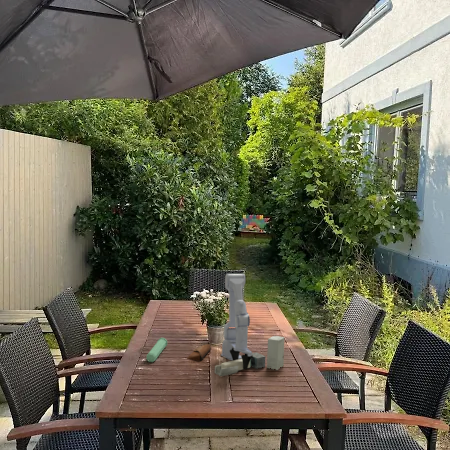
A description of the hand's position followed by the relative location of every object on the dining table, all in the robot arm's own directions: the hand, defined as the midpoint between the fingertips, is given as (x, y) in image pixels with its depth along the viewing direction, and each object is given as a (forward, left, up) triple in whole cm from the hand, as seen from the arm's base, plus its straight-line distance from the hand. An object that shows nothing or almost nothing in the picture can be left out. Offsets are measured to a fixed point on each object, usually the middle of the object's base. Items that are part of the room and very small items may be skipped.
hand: (240, 366), depth 235 cm
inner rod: (0, -3, -2) cm, 3 cm away
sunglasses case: (-28, -5, -2) cm, 29 cm away
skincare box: (+6, +18, -2) cm, 19 cm away
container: (-40, -25, -2) cm, 47 cm away
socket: (0, +10, -2) cm, 10 cm away
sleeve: (0, -8, -2) cm, 9 cm away
